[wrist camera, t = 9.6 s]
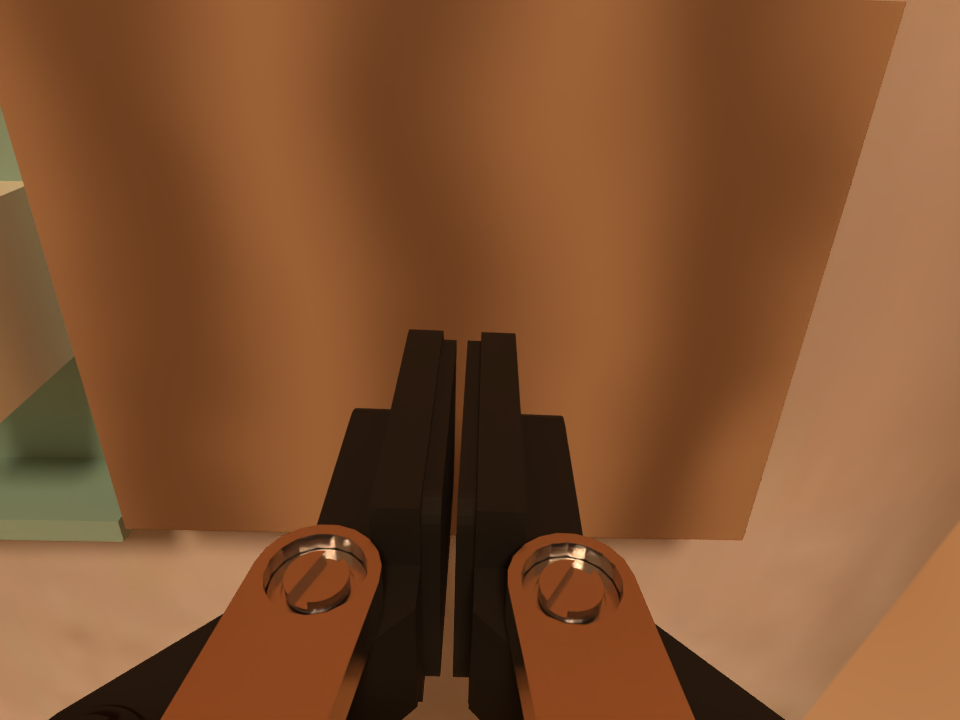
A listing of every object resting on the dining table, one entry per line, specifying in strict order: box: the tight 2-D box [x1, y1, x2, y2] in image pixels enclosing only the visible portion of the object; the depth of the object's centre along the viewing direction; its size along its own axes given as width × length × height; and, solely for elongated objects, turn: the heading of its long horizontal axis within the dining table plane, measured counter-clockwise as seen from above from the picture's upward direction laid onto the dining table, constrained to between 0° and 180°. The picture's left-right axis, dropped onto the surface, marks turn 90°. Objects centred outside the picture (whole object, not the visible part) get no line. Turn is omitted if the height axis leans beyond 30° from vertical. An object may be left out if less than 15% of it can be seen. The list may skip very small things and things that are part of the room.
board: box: [0, 0, 906, 540], centre depth 18 cm, size 18×14×4 cm
